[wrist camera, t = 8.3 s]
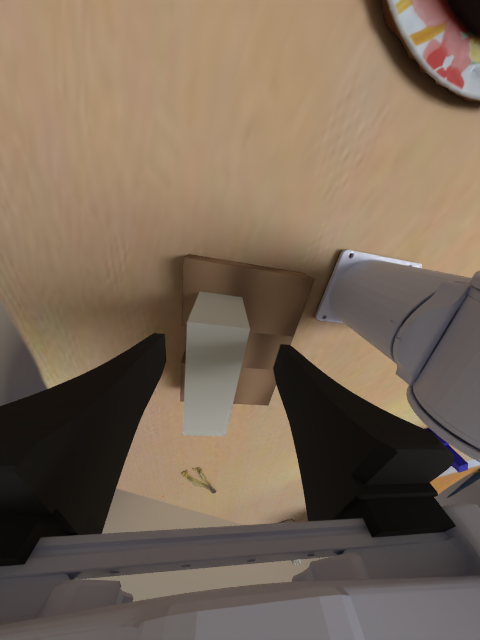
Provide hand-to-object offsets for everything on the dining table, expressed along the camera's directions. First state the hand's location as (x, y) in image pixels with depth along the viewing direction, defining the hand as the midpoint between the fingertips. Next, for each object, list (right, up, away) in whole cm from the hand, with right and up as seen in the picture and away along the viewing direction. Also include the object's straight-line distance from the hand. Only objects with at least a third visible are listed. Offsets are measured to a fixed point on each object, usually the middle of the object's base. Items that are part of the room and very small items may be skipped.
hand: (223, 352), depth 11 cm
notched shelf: (0, 0, +11) cm, 11 cm away
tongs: (-7, -33, +28) cm, 44 cm away
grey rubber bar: (-2, -1, +8) cm, 8 cm away
